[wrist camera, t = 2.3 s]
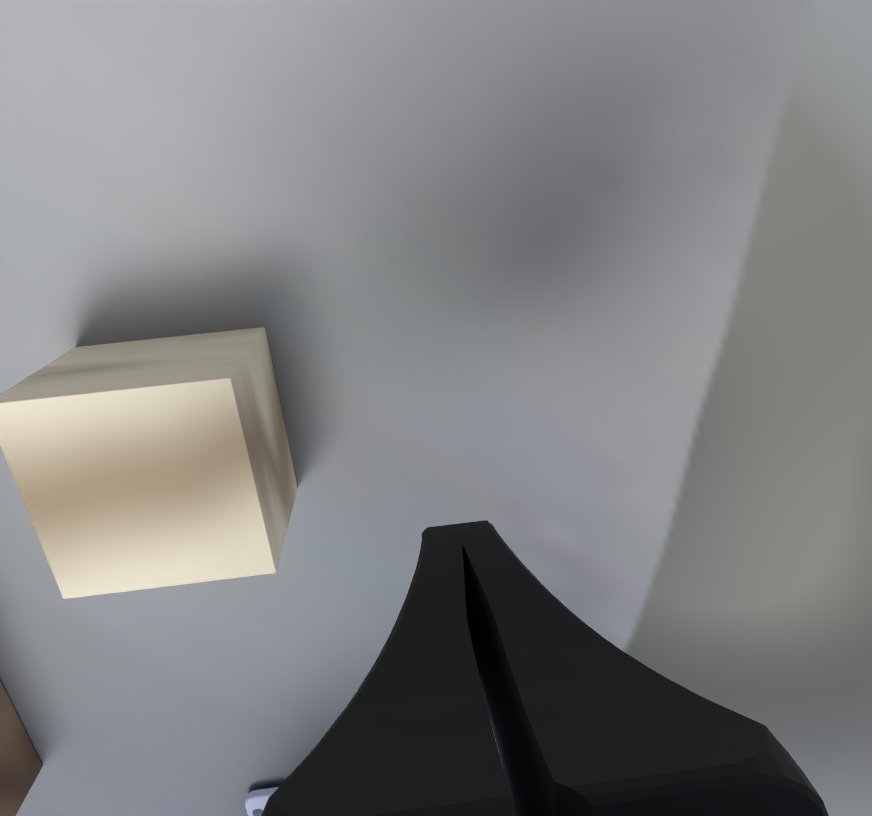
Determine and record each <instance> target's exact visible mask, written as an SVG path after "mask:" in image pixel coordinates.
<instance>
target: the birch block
mask: <svg viewBox="0 0 872 816" xmlns="http://www.w3.org/2000/svg"><path fill="white" fill-rule="evenodd" d="M0 445H1V448H2V450H3V453H4V455H5V458H6V460H7V462H8V465H9V467H10V470H11V472H12V475H13V477H14V479H15V482H16V484H17V487H18V489H19V492H20V494H21V496H22V499H23V501H24V504H25V506H26V509H27V511H28V513H29V516H30V518H31V521H32V523H33V526H34V528H35V530H36V533H37V535H38V538H39V540H40V543H41V545H42V548H43V550H44V552H45V555H46V557H47V560H48V562H49V565H50V567H51V569H52V572H53V574H54V577H55V579H56V582H57V584H58V586H59V589H60V591H61V594H62V596H63V599H68V598H76V597H84V596H92V595H100V594H109V593H117V592H125V591H133V590H141V589H149V588H157V587H166V586H174V585H182V584H190V583H198V582H206V581H214V580H223V579H231V578H239V577H247V576H255V575H263V574H271V573H276V571H277V567H278V563H279V559H280V555H281V551H282V547H283V543H284V539H285V535H286V531H287V527H288V523H289V519H290V515H291V511H292V507H293V503H294V499H295V495H296V491H297V488H298V487H297V482H296V477H295V472H294V467H293V463H292V458H291V453H290V448H289V443H288V438H287V433H286V428H285V423H284V418H283V413H282V409H281V404H280V399H279V394H278V389H277V384H276V379H275V374H274V369H273V364H272V359H271V354H270V350H269V345H268V340H267V335H266V330H265V327H259V328H249V329H240V330H230V331H221V332H212V333H202V334H193V335H183V336H174V337H165V338H155V339H146V340H137V341H127V342H118V343H108V344H99V345H90V346H80V347H75V348H73V349H72V350H70V351H69V352H67V353H65V354H64V355H62V356H61V357H59V358H57V359H56V360H54V361H53V362H51V363H50V364H48V365H46V366H45V367H43V368H42V369H40V370H38V371H37V372H35V373H34V374H32V375H30V376H29V377H27V378H26V379H24V380H23V381H21V382H19V383H18V384H16V385H15V386H13V387H11V388H10V389H8V390H7V391H5V392H4V393H2V394H0Z"/></svg>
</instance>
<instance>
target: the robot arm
mask: <svg viewBox="0 0 872 816" xmlns="http://www.w3.org/2000/svg"><path fill="white" fill-rule="evenodd" d="M488 713H489V714H488ZM489 717H490V718H489ZM490 720H491V722H490ZM491 724H492V726H491ZM492 728H493V730H492ZM493 731H494V733H493ZM494 735H495V737H494ZM495 738H496V741H495ZM496 742H497V744H496ZM497 746H498V748H497ZM498 749H499V752H498ZM499 753H500V755H499ZM500 757H501V759H500ZM501 761H502V763H501ZM502 765H503V766H502ZM245 808H246V811H247V814H248V816H828V813H827V811H826V808H825V805H824V803H823V800H822V799H821V798H820V796H819V794H818V793H817V792H816V790H815V789H814V787H813V786H812V784H811V783H810V781H809V780H808V779H807V777H806V776H805V774H804V773H803V771H802V770H801V769H800V767H799V766H798V765H797V764H796V763H795V761H794V760H793V758H792V757H791V756H790V754H789V753H788V752H787V751H786V750H785V749H784V748H783V746H782V745H781V744H780V743H779V742H778V741H777V739H776V738H775V737H774V736H773V734H771V732H770V731H769V730H768V728H767V727H766V726H765V725H763V724H760V723H758V722H756V721H754V720H752V719H749V718H747V717H745V716H743V715H741V714H738V713H736V712H734V711H732V710H729V709H727V708H725V707H723V706H720V705H718V704H716V703H714V702H712V701H709V700H707V699H705V698H703V697H701V696H699V695H697V694H695V693H693V692H691V691H689V690H688V689H686V688H684V687H682V686H680V685H678V684H676V683H675V682H673V681H671V680H669V679H667V678H665V677H664V676H662V675H660V674H658V673H656V672H655V671H653V670H651V669H650V668H648V667H647V666H645V665H644V664H642V663H641V662H639V661H637V660H636V659H634V658H633V657H631V656H629V655H628V654H626V653H625V652H623V651H622V650H620V649H618V648H617V647H616V646H614V645H613V644H612V643H610V642H609V641H607V640H606V639H605V638H603V637H602V636H601V635H599V634H598V633H597V632H595V631H594V630H593V629H592V628H590V627H589V626H588V625H586V624H585V623H584V622H583V621H582V620H580V619H579V618H578V617H577V616H576V615H574V614H573V613H572V612H571V611H570V610H569V609H568V608H566V607H565V606H564V605H563V604H562V603H561V602H560V601H559V600H558V599H557V598H556V597H555V596H553V595H552V594H551V593H550V592H549V591H548V590H547V589H546V588H545V587H544V586H543V585H542V584H541V583H540V582H539V581H538V580H537V578H536V577H535V576H534V575H533V574H532V573H531V572H530V571H529V570H528V569H527V568H526V567H525V566H524V565H523V563H522V562H521V561H520V560H519V559H518V558H517V557H516V555H515V554H514V553H513V552H512V551H511V549H510V548H509V547H508V546H507V544H506V543H505V542H504V541H503V539H502V538H501V537H500V535H499V534H498V533H497V531H496V530H495V528H494V527H493V525H492V524H491V523H489V522H488V521H487V520H486V521H477V522H469V523H461V524H453V525H445V526H437V527H428V528H426V529H425V530H424V532H423V533H422V543H421V550H420V555H419V559H418V563H417V567H416V570H415V573H414V576H413V579H412V582H411V585H410V588H409V591H408V594H407V597H406V599H405V602H404V604H403V606H402V609H401V611H400V613H399V616H398V618H397V620H396V623H395V625H394V627H393V629H392V631H391V634H390V636H389V638H388V640H387V642H386V643H385V645H384V647H383V649H382V651H381V653H380V655H379V656H378V658H377V660H376V662H375V664H374V665H373V667H372V669H371V670H370V672H369V673H368V675H367V677H366V678H365V680H364V681H363V683H362V684H361V686H360V688H359V689H358V691H357V692H356V694H355V695H354V697H353V698H352V700H351V701H350V703H349V704H348V705H347V707H346V708H345V710H344V711H343V712H342V713H341V715H340V716H339V717H338V719H337V720H336V721H335V722H334V724H333V725H332V726H331V728H330V729H329V730H328V732H327V733H326V734H325V735H324V737H323V738H322V739H321V741H320V742H319V743H318V744H317V746H316V747H315V748H314V749H313V750H312V751H311V753H310V754H309V755H308V756H307V757H306V758H305V759H304V760H303V762H302V763H301V764H300V765H299V766H298V767H297V768H296V769H295V770H294V771H293V772H292V773H291V775H290V776H289V777H288V778H287V779H286V780H285V781H284V782H283V783H282V784H281V785H280V786H279V787H274V788H266V789H259V790H254V791H251V792H250V793H248V794H247V796H246V800H245Z"/></svg>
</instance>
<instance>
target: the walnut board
mask: <svg viewBox="0 0 872 816" xmlns="http://www.w3.org/2000/svg"><path fill="white" fill-rule="evenodd" d="M42 766H43V765H42V763H41V761H40V759H39V757H38V755H37V753H36V751H35V749H34V747H33V745H32V743H31V741H30V739H29V737H28V735H27V733H26V731H25V729H24V727H23V725H22V723H21V721H20V719H19V717H18V715H17V713H16V711H15V709H14V707H13V705H12V703H11V701H10V699H9V697H8V695H7V693H6V691H5V689H4V687H3V685H2V683H1V681H0V816H15V815H16V814H17V812H18V810H19V808H20V806H21V805H22V803H23V801H24V799H25V797H26V795H27V794H28V792H29V790H30V788H31V786H32V785H33V783H34V781H35V779H36V777H37V775H38V774H39V772H40V770H41V768H42Z"/></svg>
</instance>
